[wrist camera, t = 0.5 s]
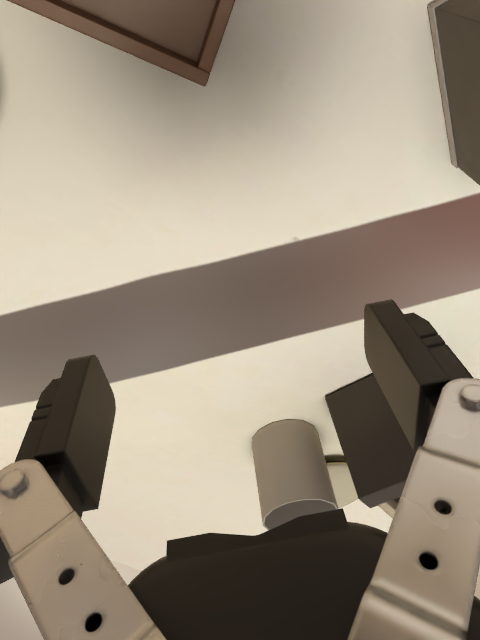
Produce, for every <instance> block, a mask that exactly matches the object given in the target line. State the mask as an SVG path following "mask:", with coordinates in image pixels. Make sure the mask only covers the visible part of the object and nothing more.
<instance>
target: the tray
mask: <svg viewBox="0 0 480 640" xmlns="http://www.w3.org/2000/svg"><path fill="white" fill-rule="evenodd" d="M7 1H10V2H12V3H14V4H17V5H19V6H21V7H23V8H26V9H28V10H30V11H33V12H35V13H37V14H40V15H42V16H44V17H46V18H49V19H51V20H53V21H56V22H58V23H60V24H62V25H65V26H67V27H69V28H72V29H74V30H76V31H78V32H81V33H83V34H85V35H88V36H90V37H92V38H95V39H97V40H99V41H101V42H104V43H106V44H108V45H111V46H113V47H115V48H117V49H120V50H122V51H124V52H127V53H129V54H131V55H133V56H136V57H138V58H140V59H143V60H145V61H147V62H150V63H152V64H154V65H156V66H159V67H161V68H163V69H166V70H168V71H170V72H172V73H175V74H177V75H179V76H182V77H184V78H186V79H188V80H191V81H193V82H195V83H198V84H200V85H202V86H206V84H207V81H208V78H209V75H210V73H209V72H211V69H212V66H213V63H214V60H215V57H216V54H217V52H218V49H219V46H220V43H221V40H222V37H223V34H224V31H225V28H226V26H227V23H228V20H229V17H230V14H231V11H232V8H233V5H234V2H235V0H7Z"/></svg>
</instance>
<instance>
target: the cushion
mask: <svg viewBox="0 0 480 640" xmlns="http://www.w3.org/2000/svg"><path fill="white" fill-rule="evenodd" d="M326 465H327V469H328V472H329V476H330V479H331V483H332V487H333V490H334V494H335V498H336V501H337V505H338V508H340V507H342V506H345V505H347V504H349V503H351V502H353V501H355V500H356V499H358V496H357V493H356V490H355V487H354V484H353V481H352V478H351V475H350V471H349V468H348V465H347V463H343V462H332V463H326Z"/></svg>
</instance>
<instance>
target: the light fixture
mask: <svg viewBox="0 0 480 640" xmlns="http://www.w3.org/2000/svg"><path fill="white" fill-rule="evenodd" d="M325 399H326V402H327V405H328V408H329V411H330V414H331V417H332V420H333V423H334V426H335V429H336V432H337V435H338V438H339V441H340V444H341V447H342V450H343V453H344V456H345V459H346V462H347V465H348V468H349V471H350V475H351V478H352V481H353V484H354V487H355V490H356V493H357V496H358V498H359V499H360V500H361V501H362V502H363V503H364V504H366V505H367V506H368V507H369V508H372V507H375V506H379V507H380V508H381V509H382V510H384V511H385V512H386V513H387V514H388V515H389V516H391V517H392V518H393V517H394V515H395V512H396V509H397V506H398V503H399V500H400V497H401V495H402V492H403V489H404V486H405V483H406V480H407V477H408V475H409V472H410V469H411V466H412V463H413V460H414V457H415V455H416V452H417V451H414V450H413V448H412V447H411V445H410V443H409V441H408V439H407V437H406V435H405V433H404V431H403V429H402V427H401V426H400V424H399V422H398V420H397V418H396V416H395V414H394V412H393V410H392V408H391V406H390V405H389V403H388V401H387V399H386V397H385V395H384V393H383V391H382V389H381V387H380V385H379V384H378V382H377V380H376V378H375V376H374V374H373V375H371V376H369V377H367V378H365V379H363V380H361V381H358V382H356V383H354V384H352V385H350V386H348V387H346V388H344V389H341V390H339V391H337V392H335V393H333V394H331V395H329V396H326V397H325Z"/></svg>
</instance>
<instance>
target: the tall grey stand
mask: <svg viewBox="0 0 480 640" xmlns="http://www.w3.org/2000/svg"><path fill="white" fill-rule="evenodd" d="M428 12H429V18H430V25H431V31H432V38H433V44H434V50H435V57H436V63H437V70H438V76H439V83H440V89H441V96H442V102H443V109H444V115H445V122H446V128H447V134H448V141H449V147H450V154H451V160H452V165H454V166H455V167H456V168H458V167H459V168H460V169H461V170H462V171H464V172H465V173H466V174H467V175H468V176H469V177H470V178H472V179H473V180H474V181H475V182H476V183H477V184H479V185H480V0H437V1H435V2H433V3H431V4H429V5H428Z"/></svg>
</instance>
